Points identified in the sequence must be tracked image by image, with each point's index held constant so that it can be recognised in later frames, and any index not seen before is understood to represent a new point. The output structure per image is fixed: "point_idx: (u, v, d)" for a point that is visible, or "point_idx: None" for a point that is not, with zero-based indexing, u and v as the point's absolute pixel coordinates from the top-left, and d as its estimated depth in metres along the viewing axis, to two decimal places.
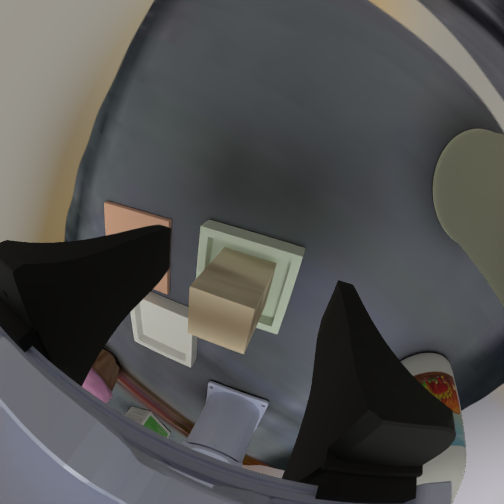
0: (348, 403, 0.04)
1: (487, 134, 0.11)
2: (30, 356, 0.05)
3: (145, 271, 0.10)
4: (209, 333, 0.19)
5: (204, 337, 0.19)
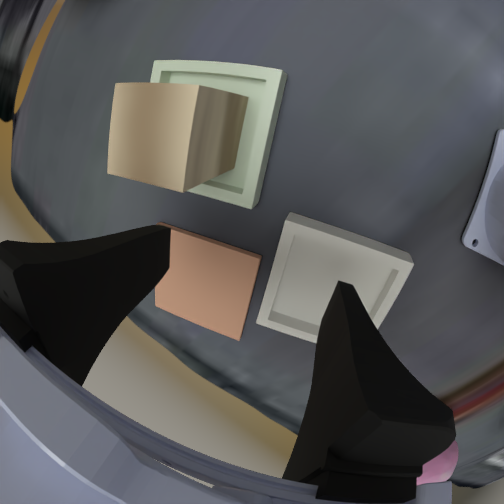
0: (348, 403, 0.04)
1: None
2: (30, 356, 0.05)
3: (145, 271, 0.10)
4: (169, 148, 0.10)
5: (182, 159, 0.10)
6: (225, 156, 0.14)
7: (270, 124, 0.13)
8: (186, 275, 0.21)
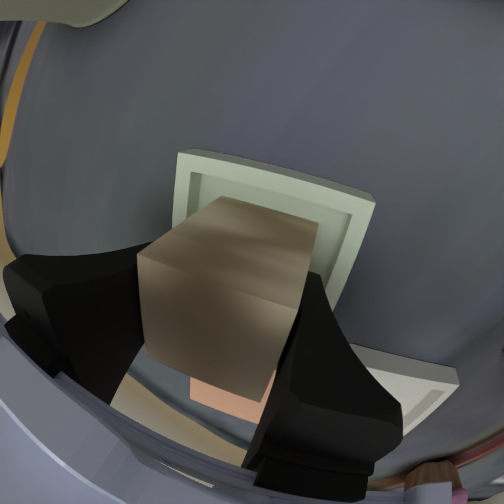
0: (283, 386, 0.05)
1: None
2: (30, 356, 0.05)
3: None
4: (244, 367, 0.08)
5: (262, 380, 0.08)
6: None
7: (349, 272, 0.11)
8: None
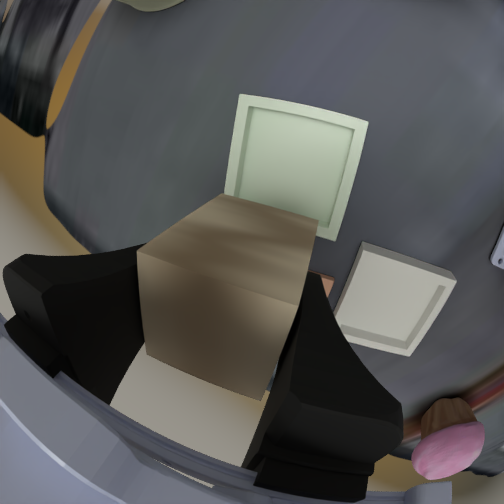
0: (283, 386, 0.05)
1: None
2: (30, 356, 0.05)
3: None
4: (244, 364, 0.08)
5: (263, 377, 0.08)
6: None
7: (356, 169, 0.15)
8: None
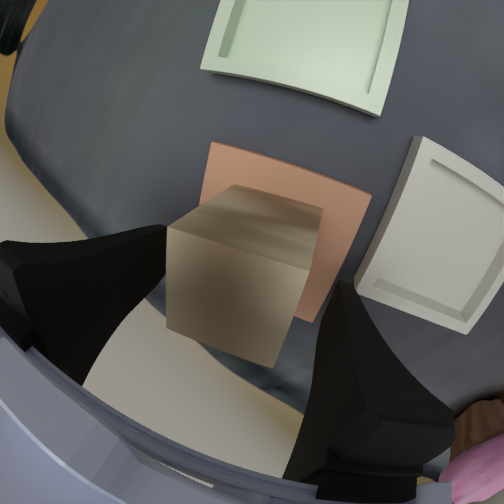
0: (348, 403, 0.04)
1: None
2: (30, 356, 0.05)
3: (145, 271, 0.10)
4: (260, 330, 0.09)
5: (276, 343, 0.09)
6: None
7: (404, 21, 0.07)
8: None
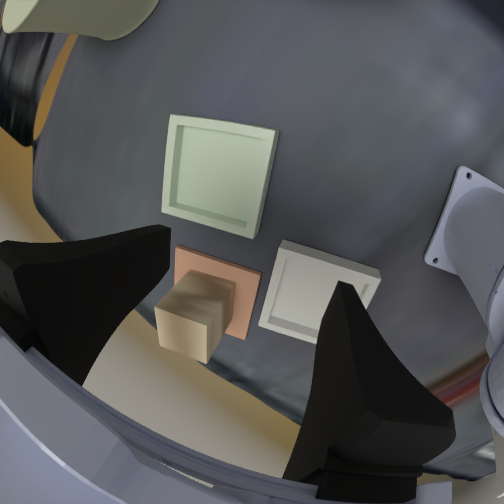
0: (348, 403, 0.04)
1: None
2: (30, 356, 0.05)
3: (145, 271, 0.10)
4: (196, 346, 0.20)
5: (204, 352, 0.20)
6: (225, 324, 0.24)
7: (266, 174, 0.18)
8: None
